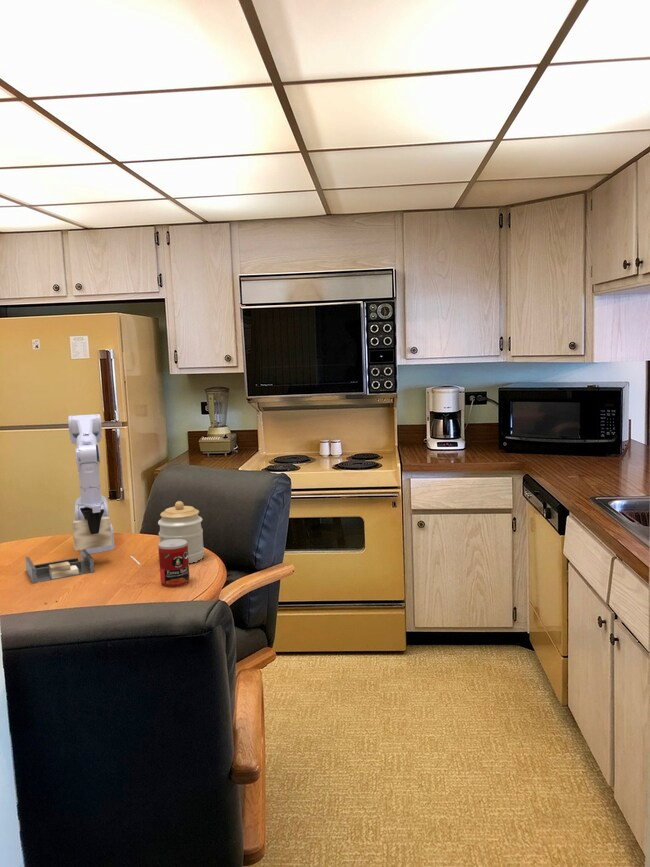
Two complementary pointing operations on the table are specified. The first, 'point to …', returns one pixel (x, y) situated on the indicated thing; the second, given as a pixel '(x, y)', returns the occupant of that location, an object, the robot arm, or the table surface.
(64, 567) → the offcut upper
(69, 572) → the offcut lower
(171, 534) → the jar
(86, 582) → the table surface
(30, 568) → the rack
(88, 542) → the wooden block
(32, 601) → the table surface
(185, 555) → the canned food
